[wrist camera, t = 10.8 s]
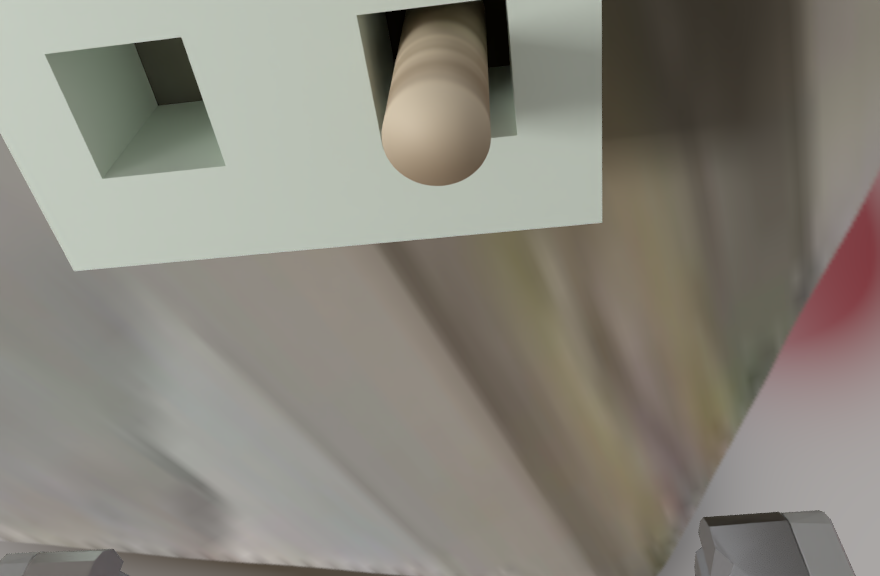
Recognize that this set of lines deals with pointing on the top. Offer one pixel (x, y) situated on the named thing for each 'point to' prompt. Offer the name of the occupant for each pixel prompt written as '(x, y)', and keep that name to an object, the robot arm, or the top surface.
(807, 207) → the top surface
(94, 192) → the hole block
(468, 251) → the top surface
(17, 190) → the top surface
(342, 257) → the top surface
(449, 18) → the peg
